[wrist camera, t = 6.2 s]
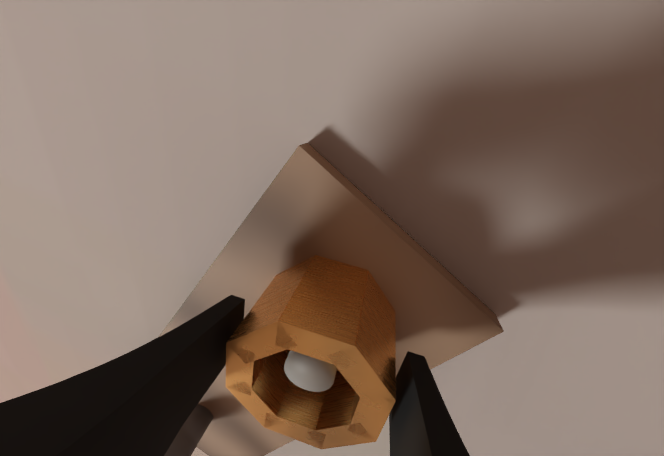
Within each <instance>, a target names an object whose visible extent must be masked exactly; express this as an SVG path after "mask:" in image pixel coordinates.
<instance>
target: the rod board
mask: <svg viewBox="0 0 664 456" xmlns="http://www.w3.org/2000/svg"><path fill="white" fill-rule="evenodd" d="M314 255H318V256H321V257H325V258H328V259H332V260H335V261H339V262H342V263H346V264H349V265H353V266H356V267H360V268H363V269H367V270H369V272H370V273H371V275H372V276H373V278H374V279H375V281H376V282H377V284H378V285H379V287H380V288H381V290H382V291H383V293H384V294H385V296H386V297H387V299H388V300H389V302H390V303H391V305H392V306H393V308H394V309H395V332H396V375H397V373H398V371H399V369H400V367H401V365H402V362H403V360H404V358H405V356H406V354H407V352H408V351H409V352H412V353H415V354H419V355H422V356H424V357H425V359H426V361H427V363H428V366H429V368H430V369H432V368H434V367H436V366H438V365H440V364H442V363H444V362H445V361H447V360H449V359H451V358H453V357H455V356H457V355H459V354H461V353H463V352H465V351H467V350H469V349H471V348H473V347H474V346H476V345H478V344H480V343H482V342H484V341H486V340H488V339H490V338H492V337H494V336H496V335H498V334H500V333H501V332H503V329H502V327H501V325H500V323H499V321H498V319H497V317H496V315H495V314H494V313H493V312H492V311H491V310H490V309H489V308H488V307H487V306H485V305H484V304H483V303H482V302H481V301H480V300H479V299H478V298H477V297H476V296H474V295H473V294H472V293H471V292H470V291H469V290H468V289H467V288H466V287H465V286H464V285H462V284H461V283H460V282H459V281H458V280H457V279H456V278H455V277H454V276H453V275H451V274H450V273H449V272H448V271H447V270H446V269H445V268H444V267H443V266H442V265H441V264H439V263H438V262H437V261H436V260H435V259H434V258H433V257H432V256H431V255H430V254H428V253H427V252H426V251H425V250H424V249H423V248H422V247H421V246H420V245H419V244H418V243H416V242H415V241H414V240H413V239H412V238H411V237H410V236H409V235H408V234H407V233H405V232H404V231H403V230H402V229H401V228H400V227H399V226H398V225H397V224H396V223H395V222H393V221H392V220H391V219H390V218H389V217H388V216H387V215H386V214H385V213H384V212H382V211H381V210H380V209H379V208H378V207H377V206H376V205H375V204H374V203H373V202H372V201H370V200H369V199H368V198H367V197H366V196H365V195H364V194H363V193H362V192H361V191H359V190H358V189H357V188H356V187H355V186H354V185H353V184H352V183H351V182H350V181H349V180H347V179H346V178H345V177H344V176H343V175H342V174H341V173H340V172H339V171H338V170H336V169H335V168H334V167H333V166H332V165H331V164H330V163H329V162H328V161H327V160H326V159H324V158H323V157H322V156H321V155H320V154H319V153H318V152H317V151H316V150H315V149H314V148H312V147H311V146H310V145H309V144H308V143H305V144H302V145H299V146H298V148H297V149H296V150H295V152H294V153H293V155H292V156H291V157H290V159H289V160H288V161H287V163H286V164H285V165H284V167H283V168H282V170H281V171H280V172H279V174H278V175H277V176H276V178H275V179H274V180H273V182H272V183H271V185H270V186H269V187H268V189H267V190H266V191H265V193H264V194H263V195H262V197H261V198H260V200H259V201H258V202H257V204H256V205H255V206H254V208H253V209H252V210H251V212H250V213H249V215H248V216H247V217H246V219H245V220H244V221H243V223H242V224H241V225H240V227H239V228H238V230H237V231H236V232H235V234H234V235H233V236H232V238H231V239H230V240H229V242H228V243H227V245H226V246H225V247H224V249H223V250H222V251H221V253H220V254H219V255H218V257H217V258H216V260H215V261H214V262H213V264H212V265H211V266H210V268H209V269H208V270H207V272H206V273H205V275H204V276H203V277H202V279H201V280H200V281H199V283H198V284H197V285H196V287H195V288H194V290H193V291H192V292H191V294H190V295H189V296H188V298H187V299H186V300H185V302H184V303H183V305H182V306H181V307H180V309H179V310H178V311H177V313H176V314H175V315H174V317H173V318H172V320H171V321H170V322H169V324H168V325H167V326H166V328H165V329H164V330H163V332H162V333H161V335H160V336H162V335H164V334H165V333H167V332H169V331H171V330H173V329H175V328H176V327H178V326H180V325H182V324H183V323H185V322H187V321H188V320H190V319H192V318H193V317H195V316H197V315H199V314H200V313H202V312H203V311H205V310H207V309H208V308H210V307H212V306H213V305H215V304H216V303H218V302H220V301H221V300H223V299H225V298H226V297H228V296H230V295H234V296H237V297H240V298H243V299H245V309H244V318H245V317H246V315H247V314H248V313H249V311H250V310H251V309H252V307H253V306H254V305H255V303H256V302H257V300H258V299H259V298H260V296H261V295H262V294H263V292H264V291H265V290H266V288H267V287H268V286H269V284H270V283H271V281H272V280H273V279H274V277H275V276H276V275H277V274H279V273H281V272H283V271H285V270H287V269H289V268H291V267H293V266H295V265H297V264H299V263H301V262H303V261H304V260H306V259H308V258H310V257H312V256H314ZM160 336H159V337H160ZM336 370H337V368H336V366H335V365H334V364H331V363H328V362H325V361H322V360H319V359H316V358H313V357H310V356H307V355H304V354H301V353H298V352H295V351H292V350H290V352H289V355H288V357H287V359H286V361H285V364H284V371H285V373H286V375H287V377H288V378H289V380H290V381H291V382H292V383H294V384H295V385H296V386H298V387H300V388H302V389H304V390H308V391H312V392H321V391H325V390H327V389H329V388H330V387H331V386H332V385H333V383H334V379H335V375H336ZM293 440H295V439H293V438H291V437H288V436H285V435H283V434H280V433H277V432H275V431H272V430H269V429H267V428H264V427H263V426H262V425H261V424H260V423H259V422H258V421H257V420H256V419H255V417H254V416H253V415H252V414H251V413H250V412H249V411H248V410H247V409H246V408H245V407H244V406H243V405H242V404H241V403H240V402H239V401H238V400H237V398H236V397H235V396H234V395H233V394H232V393H231V392H230V391H229V390H228V389H227V388H226V365H225V367H224V368H223V369H222V371H221V372H220V374H219V375H218V376H217V378H216V379H215V381H214V382H213V383H212V385H211V386H210V388H209V389H208V390H207V392H206V393H205V395H204V396H203V397H202V399H201V400H200V402H199V403H198V404H197V406H196V407H195V408H194V410H193V411H192V413H191V414H190V415H189V417H188V418H187V420H186V421H185V423H184V424H183V426H182V427H181V429H180V430H179V432H178V434H177V435H176V437H175V439H174V440H173V442H172V444H171V445H170V447H169V449H168V450H167V452H166V454H165V455H164V456H191V454H192V453H193V451H194V449H195V448H196V447H197V448H199V449H200V450H202V451H203V452H205V453H206V454H207V455H209V456H264V455H266V454H268V453H270V452H272V451H274V450H276V449H277V448H279V447H281V446H283V445H285V444H287V443H289V442H291V441H293Z"/></svg>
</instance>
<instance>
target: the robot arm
mask: <svg viewBox="0 0 664 456" xmlns="http://www.w3.org/2000/svg"><path fill="white" fill-rule="evenodd" d="M244 309H245V299H243V298H240V297H237V296H234V295H230V296H228V297H226V298H225V299H223V300H221V301H220V302H218V303H216V304H215V305H213V306H212V307H210V308H208V309H207V310H205V311H203V312H202V313H200V314H199V315H197V316H195V317H193V318H192V319H190V320H188V321H187V322H185V323H183V324H182V325H180V326H178V327H176V328H175V329H173V330H171V331H169V332H167V333H165V334H164V335H162V336H160V337H158V338H156V339H154V340H152V341H151V342H149V343H147V344H145V345H143V346H141V347H139V348H137V349H135V350H133V351H131V352H129V353H127V354H124V355H122V356H120V357H118V358H116V359H114V360H111V361H109V362H107V363H105V364H102V365H100V366H98V367H95V368H93V369H91V370H88V371H86V372H83V373H81V374H78V375H76V376H73V377H71V378H68V379H66V380H63V381H61V382H58V383H56V384H53V385H50V386H48V387H45V388H42V389H39V390H37V391H34V392H31V393H28V394H25V395H23V396H20V397H17V398H14V399H11V400H8V401H5V402H2V403H0V456H164V455H165V454H166V452H167V450H168V449H169V447H170V445H171V444H172V442H173V440H174V439H175V437H176V435H177V434H178V432H179V430H180V429H181V427H182V426H183V424H184V423H185V421H186V420H187V418H188V417H189V415H190V414H191V413H192V411H193V410H194V408H195V407H196V406H197V404H198V403H199V402H200V400H201V399H202V397H203V396H204V395H205V393H206V392H207V390H208V389H209V388H210V386H211V385H212V383H213V382H214V381H215V379H216V378H217V376H218V375H219V374H220V372H221V371H222V369H223V368H224V367H225V365H226V343H227V341H228V340H229V339H230V337H231V336H232V334H233V333H234V332H235V330H236V329H237V328H238V326H239V325H240V324H241V322H242V321H243V319H244ZM389 422H390V456H470V455H469V453H468V451H467V449H466V448H465V446H464V444H463V442H462V440H461V438H460V436H459V433H458V431H457V429H456V427H455V425H454V423H453V421H452V419H451V417H450V414H449V412H448V410H447V408H446V406H445V404H444V401H443V399H442V397H441V394H440V392H439V390H438V387H437V385H436V383H435V380H434V378H433V375H432V373H431V371H430V368H429V366H428V363H427V361H426V359H425V357H424V356H422V355H419V354H415V353H412V352H409V351H408V352H407V354H406V356H405V358H404V360H403V362H402V365H401V367H400V369H399V371H398V373H397V375H396V401H395V403H394V405H393V408H392V410H391V412H390V415H389Z"/></svg>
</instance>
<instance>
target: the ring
mask: <svg viewBox="0 0 664 456" xmlns="http://www.w3.org/2000/svg"><path fill="white" fill-rule="evenodd" d="M290 350H292V351H295V352H298V353H301V354H304V355H307V356H310V357H313V358H316V359H319V360H322V361H325V362H328V363H331V364H334V365H335V366H336V368H337V370H336V375H335V379H334V383H333V385H332V386H331V387H330V388H329V389H327V390H325V391H321V392H312V391H308V390H304V389H302V388H300V387H298V386H296V385H295V384H294V383H292V382H291V381H290V380H289V378H288V377H287V375H286V373H285V371H284V364H285V361H286V359H287V357H288V355H289V352H290ZM226 388H227V389H228V390H229V391H230V392H231V393H232V394H233V395H234V396H235V397H236V398H237V400H238V401H239V402H240V403H241V404H242V405H243V406H244V407H245V408H246V409H247V410H248V411H249V412H250V413H251V414H252V415H253V416H254V417H255V419H256V420H257V421H258V422H259V423H260V424H261V425H262V426H263V427H264V428H267V429H269V430H272V431H275V432H277V433H280V434H283V435H285V436H288V437H291V438H293V439H296V440H299V441H301V442H304V443H307V444H309V445H312V446H314V447H317V448H320V449H326V448H334V447H341V446H348V445H355V444H362V443H369V442H376V440H377V438H378V436H379V434H380V432H381V430H382V428H383V426H384V424H385V422H386V420H387V418H388V416H389V414H390V412H391V410H392V408H393V405H394V403H395V401H396V332H395V309H394V308H393V306H392V305H391V303H390V302H389V300H388V299H387V297H386V296H385V294H384V293H383V291H382V290H381V288H380V287H379V285H378V284H377V282H376V281H375V279H374V278H373V276H372V275H371V273H370V272H369V270H367V269H363V268H360V267H356V266H353V265H349V264H346V263H342V262H339V261H335V260H332V259H328V258H325V257H321V256H318V255H314V256H312V257H310V258H308V259H306V260H304V261H303V262H301V263H299V264H297V265H295V266H293V267H291V268H289V269H287V270H285V271H283V272H281V273H279V274H277V275H276V276H275V277H274V279H273V280H272V281H271V283H270V284H269V286H268V287H267V288H266V290H265V291H264V292H263V294H262V295H261V296H260V298H259V299H258V300H257V302H256V303H255V305H254V306H253V307H252V309H251V310H250V311H249V313H248V314H247V315H246V317H245V318H244V319H243V321H242V322H241V324H240V325H239V326H238V328H237V329H236V330H235V332H234V333H233V334H232V336H231V337H230V339H229V340H228V341H227V343H226Z"/></svg>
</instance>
